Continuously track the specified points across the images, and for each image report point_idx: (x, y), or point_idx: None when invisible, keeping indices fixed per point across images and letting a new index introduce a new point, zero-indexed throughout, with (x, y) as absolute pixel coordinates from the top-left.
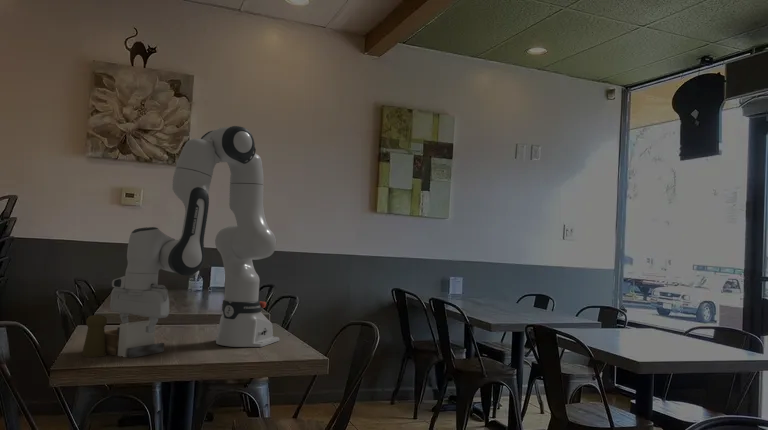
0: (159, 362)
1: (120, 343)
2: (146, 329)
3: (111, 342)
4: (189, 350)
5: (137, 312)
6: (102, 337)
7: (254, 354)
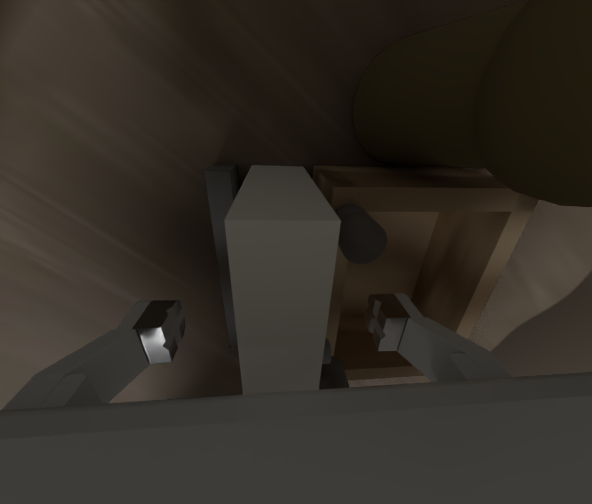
0: (32, 181)
1: (295, 179)
2: (161, 311)
3: (368, 177)
4: (197, 376)
5: (214, 429)
6: (410, 110)
7: None
